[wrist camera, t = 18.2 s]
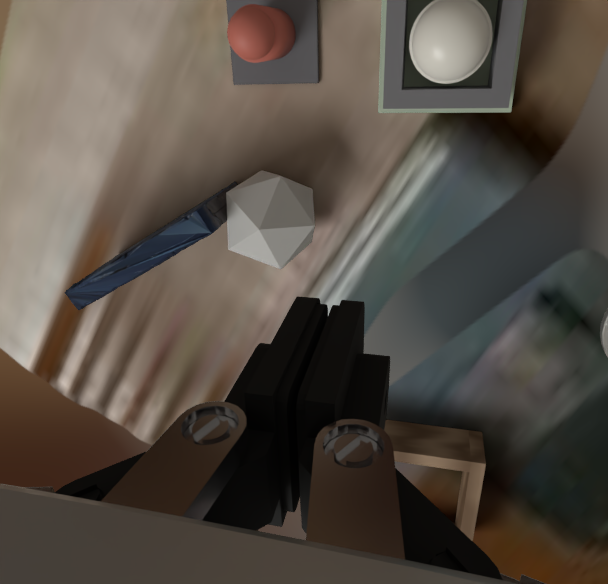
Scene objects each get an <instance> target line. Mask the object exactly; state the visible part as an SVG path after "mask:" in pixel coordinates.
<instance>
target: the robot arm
mask: <svg viewBox="0 0 608 584" xmlns="http://www.w3.org/2000/svg"><path fill="white" fill-rule="evenodd" d="M600 338H601V344H602V347H603V349H604V351H605V354H606V355H607V357H608V308H607V310H606V312H605V313H604V316H603V319H602V322H601V328H600ZM363 349H364V302H359V301H347V300H342V301H341V303H340V306H338V305H333V306H332V308H331V311H330V313H329V316H328V308H327V305H325V304H320V300H319V298H308V297H296V299H295V301H294V303H293V304H292V306H291V308H290V310H289V312H288V313H287V315H286V317H285V319H284V321H283V323H282V324H281V326H280V328H279V330H278V332H277V334H276V335H275V337H274V339H273V341H272V343H271V344H264V343H261V344H259V345H258V346H257V347H256V349H255V350H254V352H253V354H252V356H251V357H250V359H249V361H248V362H247V364H246V366H245V367H244V369H243V371H242V373H241V374H240V376H239V378H238V379H237V381H236V383H235V384H234V386H233V388H232V389H231V391H230V393H229V395H228V396H227V398H226V400H225V401H224V402H222V401H213V402H205V403H202V404H198V405H196V406H194V407H192V408H190V409H188V410H186V411H185V412H184V413H183V414H181V415H180V416H179V417H178V418H177V419H176V420H175V421H174V423H173V424H172V425H171V426H170V427H169V428H168V429H167V430H166V431H165V432H164V433H163V434H162V436H161V437H160V438H159V439H158V440H157V441H156V442H155V443H154V444H153V445H152V446H151V448H150V449H149V450H148V451H147V452H144V453H142V454H139V455H137V456H134V457H132V458H129V459H127V460H124V461H122V462H120V463H117V464H114V465H112V466H109V467H107V468H104V469H102V470H100V471H97V472H95V473H92V474H90V475H87V476H85V477H82V478H80V479H77V480H75V481H73V482H71V483H69V484H67V485H65V486H63V487H62V488H60V489H59V490H58V491H56V492H54V489H53V487H30V488H22V487H16V486H10V485H4V484H0V584H545V583H543V582H540V581H537V580H535V579H532V578H530V577H527V576H525V575H522V574H521V578H520V581H518V580H516V579H513V578H511V577H508V576H506V575H503V574H500V572H499V570H498V568H497V567H496V566H495V564H494V563H493V562H492V561H491V559H490V558H489V557H488V556H487V555H486V554H485V553H484V552H483V551H482V550H481V549H480V548H479V547H478V546H477V545H476V544H475V543H474V542H473V541H471V540H470V539H469V538H468V537H467V536H466V535H465V534H464V533H463V532H462V531H461V530H460V529H459V528H458V527H457V526H456V525H455V524H454V523H453V522H452V521H450V520H449V519H448V518H447V517H446V516H445V515H444V514H443V513H442V512H441V511H440V510H439V509H438V508H437V507H436V506H435V505H434V504H433V503H432V502H430V501H429V500H428V499H427V498H426V497H425V496H424V495H423V494H422V493H421V492H420V491H419V490H418V489H417V488H416V487H415V486H414V485H413V484H412V483H411V482H409V481H408V480H407V479H406V478H405V477H404V476H403V475H402V474H401V473H400V472H399V471H398V470H397V469H396V468H395V460H394V451H393V445H392V442H391V439H390V437H389V436H388V434H387V433H386V432H385V431H384V428H385V421H386V412H387V402H388V389H389V371H390V356H382V355H371V354H363ZM299 498H300V503H301V517H302V528H303V530H304V531H305V533H306V540H301V539H295V538H291V537H286V536H280V535H276V534H270V533H265V532H260V531H258V529H260V528H262V527H263V526H265V525H267V524H269V525H275V526H280V527H282V525H283V522H284V519H285V516H286V513H287V511H291V512H295V510H296V508H297V504H298V501H299Z"/></svg>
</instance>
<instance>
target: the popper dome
mask: <svg viewBox="0 0 608 584" xmlns="http://www.w3.org/2000/svg"><path fill="white" fill-rule="evenodd" d="M492 34H493V32H492V24H491V20H490V17H489V15H488V13H487V11H486V9H485V8H484V7H483V6H482V5H481V4H480V3H479V2H478V1H477V0H434V1H432V2H431V3H430V4H428V5H427V6H426V7H425V8H424V9H423V10H422V11H421V13H420V14H419V15H418V17H417V19H416V20H415V22H414V24H413V27H412V30H411V34H410V40H409V49H410V55H411V59H412V61H413V64H414V65H415V67H416V69H417V70H418V71H419V72H420V73H421V74H422V75H423V76H424V77H425V78H427V79H429V80H431V81H433V82H436V83H441V84H449V83H455V82H459V81H461V80H463V79H465V78H467V77H469V76H470V75H472V74H473V73H474V72H475V71H476V70H477V69H478V68H479V67H480V66H481V65H482V63H483V62H484V60H485V59H486V57H487V55H488V53H489V50H490V47H491V43H492Z"/></svg>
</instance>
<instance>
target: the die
mask: <svg viewBox="0 0 608 584" xmlns="http://www.w3.org/2000/svg"><path fill="white" fill-rule="evenodd" d="M226 200H227V229H228V250H231V251H233V252H236V253H239V254H241V255H244V256H247V257H249V258H252V259H255V260H257V261H260V262H263V263H265V264H268V265H271V266H273V267H276V268H279V269H282V268H283V267H284V266H285V265H286V264H287V263H289V262H290V261H291V260H292V259H293V258H294V257H295V256H297V255H298V254H299V253H300V252H301V251H302V250H303V249H304V248H306V247H307V246H308V245H309V244H310V243H311V242H312V237H313V232H314V228H315V219H314V204H313V189H311V188H309V187H306V186H304V185H302V184H299V183H297V182H294V181H292V180H290V179H287V178H285V177H282V176H280V175H276V174H273V173H269V172H266V171H263V170H261V171H259V172H258V173H256V174H255V175H253V176H252V177H250V178H248V179H247V180H245V181H244V182H242V183H241V184H239V185H237V186H236V187H234V188H233V189H231V190H230V191H228V192H226Z"/></svg>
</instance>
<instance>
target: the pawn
mask: <svg viewBox="0 0 608 584" xmlns="http://www.w3.org/2000/svg"><path fill="white" fill-rule="evenodd" d="M227 33H228V40H229V43H230V45H231V47H232V49H233V50H234V52H235V53H236V54H237V55H238V56H239V57H241V58H242V59H244V60H245V61H248V62H252V63H258V62H264V61H270V60H275V59H280V58H282V57H284V56H286V55H287V54H288V53H289V52H290V51H291V49H292V47H293V45H294V42H295V37H296V33H295V26H294V23H293V21H292V19H291V18H290V17H289V15H288V14H287V13H286V12H284V11H283V10H281V9H278V8H272V7H267V6H262V5H257V4H249V5H245V6H243V7H241V8H240V9H238V10H237V11H236V13H235V14H234V15H233V16H232V18H231V19H230V21H229V24H228V31H227Z"/></svg>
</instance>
